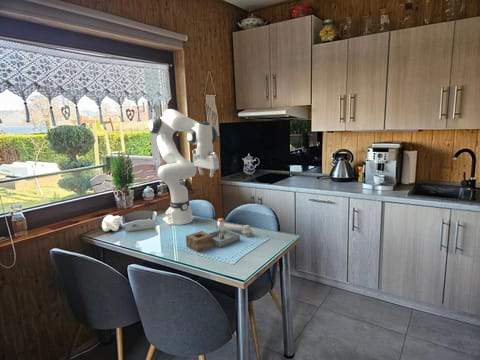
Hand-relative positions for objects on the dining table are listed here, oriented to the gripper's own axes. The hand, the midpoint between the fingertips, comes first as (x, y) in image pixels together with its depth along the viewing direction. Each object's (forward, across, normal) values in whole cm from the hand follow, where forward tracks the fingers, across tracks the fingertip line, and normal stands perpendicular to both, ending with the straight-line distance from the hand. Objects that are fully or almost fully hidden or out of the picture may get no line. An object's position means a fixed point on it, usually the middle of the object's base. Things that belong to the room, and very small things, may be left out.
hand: (206, 175), depth 176 cm
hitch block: (+34, -12, +15) cm, 39 cm away
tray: (+34, -14, +2) cm, 37 cm away
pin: (+33, -14, +2) cm, 36 cm away
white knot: (+36, +50, +39) cm, 73 cm away
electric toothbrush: (+35, -10, -11) cm, 38 cm away
